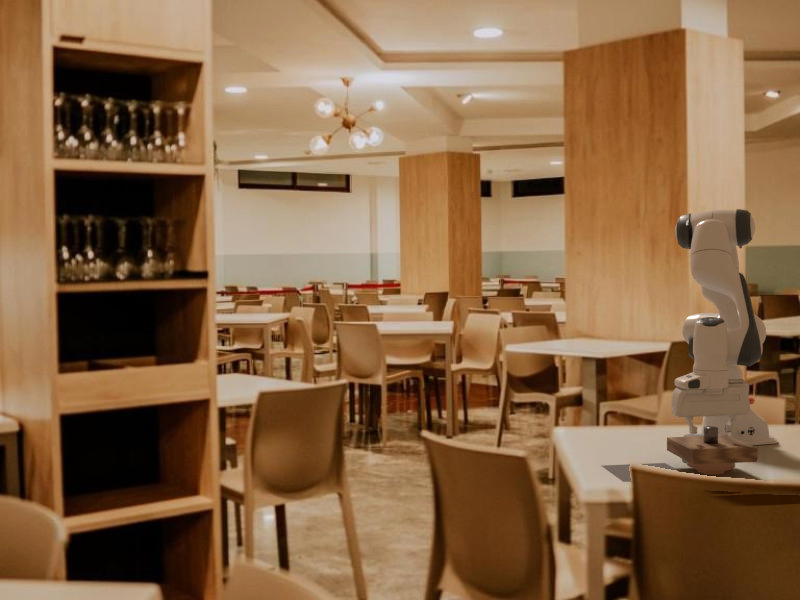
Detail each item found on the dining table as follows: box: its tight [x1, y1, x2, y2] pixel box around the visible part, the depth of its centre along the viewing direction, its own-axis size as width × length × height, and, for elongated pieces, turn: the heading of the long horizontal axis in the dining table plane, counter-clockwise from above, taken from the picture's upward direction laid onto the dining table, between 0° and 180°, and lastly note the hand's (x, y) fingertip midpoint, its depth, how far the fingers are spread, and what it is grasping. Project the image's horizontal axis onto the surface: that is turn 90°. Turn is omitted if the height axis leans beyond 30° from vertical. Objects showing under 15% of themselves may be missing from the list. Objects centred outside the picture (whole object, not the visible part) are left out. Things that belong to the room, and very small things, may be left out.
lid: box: [666, 426, 759, 464], centre depth 242 cm, size 17×17×8 cm
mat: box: [601, 462, 679, 483], centre depth 243 cm, size 18×18×1 cm
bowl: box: [686, 461, 736, 475], centre depth 243 cm, size 12×12×7 cm
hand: (710, 432), depth 242 cm, fingers open, 8 cm apart
